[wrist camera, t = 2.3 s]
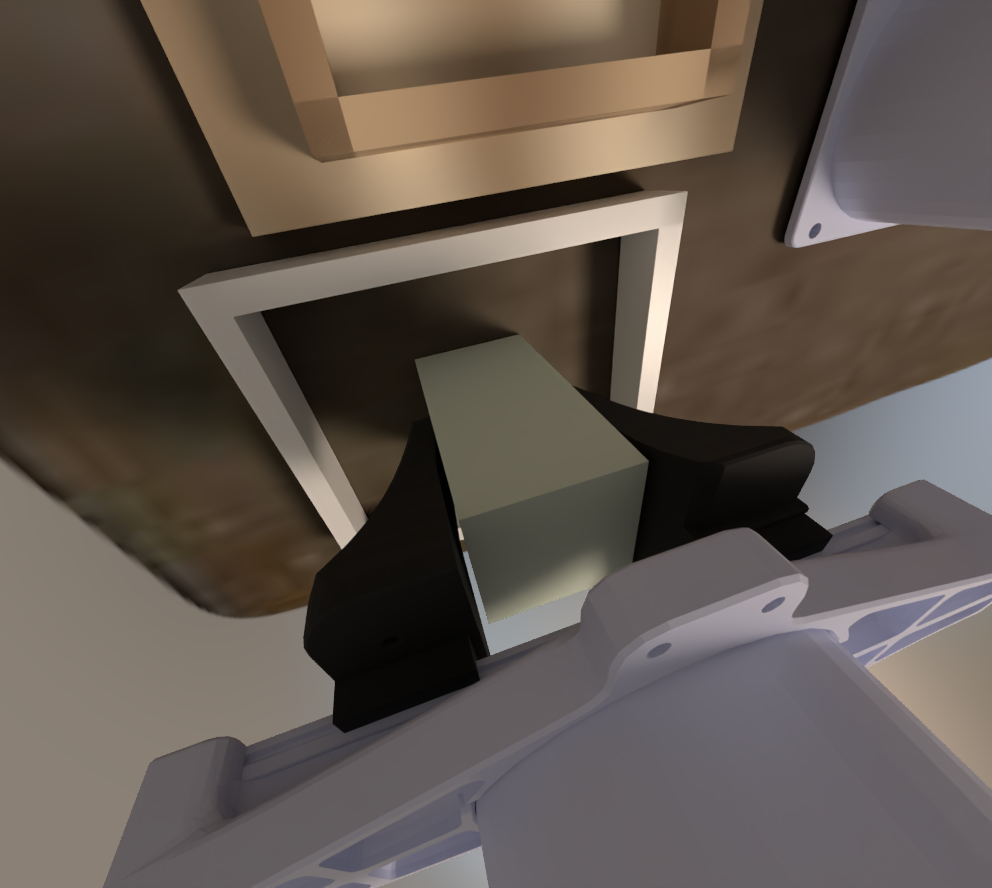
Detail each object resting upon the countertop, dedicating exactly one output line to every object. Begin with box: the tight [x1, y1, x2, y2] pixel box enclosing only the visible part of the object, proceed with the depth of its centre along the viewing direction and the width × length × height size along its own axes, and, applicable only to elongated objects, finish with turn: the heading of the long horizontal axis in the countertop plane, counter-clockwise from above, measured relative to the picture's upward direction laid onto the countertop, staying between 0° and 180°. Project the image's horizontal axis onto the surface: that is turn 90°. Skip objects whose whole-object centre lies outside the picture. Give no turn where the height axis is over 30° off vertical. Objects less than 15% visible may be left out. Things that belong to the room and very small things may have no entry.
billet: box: [415, 334, 649, 624], centre depth 11 cm, size 4×4×8 cm
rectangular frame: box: [177, 190, 688, 549], centre depth 14 cm, size 14×12×2 cm
